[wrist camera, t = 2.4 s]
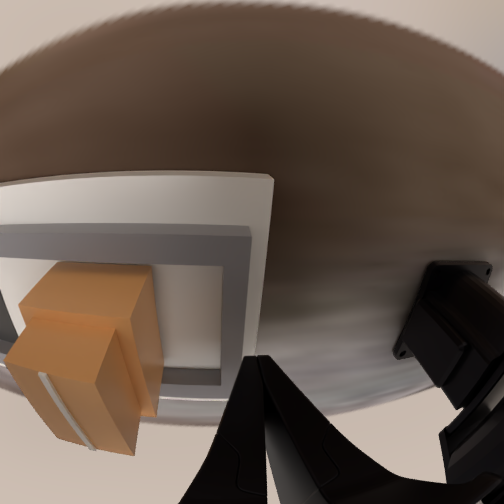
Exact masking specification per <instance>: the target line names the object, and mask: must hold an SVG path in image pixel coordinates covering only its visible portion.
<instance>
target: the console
mask: <svg viewBox="0 0 504 504" xmlns="http://www.w3.org/2000/svg"><path fill="white" fill-rule="evenodd" d="M273 188H274V179H273V178H272V177H271V176H270V175H269V174H260V173H244V172H224V171H186V170H153V171H117V172H97V173H82V174H70V175H58V176H49V177H39V178H31V179H23V180H16V181H9V182H3V183H0V365H2V366H5V367H6V368H7V366H6V365H5V363H4V361H3V360H4V359H5V357H6V355H7V354H8V352H9V351H10V349H11V348H12V346H13V345H14V343H15V342H16V340H17V339H18V337H19V336H20V334H21V333H22V332H23V330H24V329H25V327H26V325H25V322H24V320H23V317H22V314H21V312H20V309H19V306H18V304H19V303H20V302H21V301H22V300H23V298H24V297H25V296H26V295H27V294H28V293H29V292H30V290H31V289H32V288H33V287H34V286H35V285H36V284H37V283H38V282H39V281H40V279H41V278H42V277H43V276H44V275H45V274H46V273H47V272H48V271H49V270H50V269H51V268H52V267H53V266H54V265H55V264H56V263H57V262H70V263H91V264H115V265H141V266H152V276H153V286H154V295H155V303H156V311H157V319H158V326H159V333H160V339H161V346H162V352H163V357H164V368H163V374H162V381H161V387H160V394H159V398H161V399H175V400H196V401H228V399H229V396H230V394H231V391H232V388H233V385H234V382H235V379H236V377H237V374H238V371H239V368H240V365H241V362H242V359H243V357H244V356H255V350H256V341H257V333H258V325H259V316H260V308H261V299H262V291H263V282H264V273H265V264H266V255H267V246H268V236H269V227H270V217H271V208H272V198H273ZM7 369H8V368H7Z"/></svg>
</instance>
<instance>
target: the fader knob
mask: <svg viewBox="0 0 504 504" xmlns="http://www.w3.org/2000/svg"><path fill="white" fill-rule="evenodd" d="M18 306H19V309H20V312H21V314H22V317H23V320H24V322H25V325H26V327H25V329H24V330H23V332H22V333H21V334H20V336H19V337H18V339H17V340H16V342H15V343H14V345H13V346H12V348H11V349H10V351H9V352H8V354H7V355H6V357H5V359H4V360H3V361H4V363H5V365H6V366H7V368H8V370H9V371H10V373H11V375H12V376H13V378H14V380H15V381H16V383H17V384H18V386H19V388H20V389H21V391H22V392H23V394H24V395H25V396H26V398H27V399H28V401H29V402H30V403H31V405H32V406H33V408H34V409H35V411H36V412H37V413H38V415H39V416H40V417H41V418H42V419H43V421H44V422H45V423H46V425H47V426H48V427H49V428H50V430H51V431H52V432H53V433H54V434H55V436H56V437H57V438H59V439H62V440H65V441H68V442H72V443H76V444H79V445H83V446H87V447H88V448H89V449H90V450H93V451H96V449H99V450H104V451H109V452H114V453H119V454H125V455H130V456H135V448H136V441H137V435H138V428H139V422H140V416H148V417H157V409H158V401H159V394H160V387H161V381H162V374H163V368H164V357H163V352H162V346H161V339H160V333H159V326H158V319H157V311H156V303H155V295H154V286H153V276H152V266H141V265H115V264H91V263H70V262H57V263H56V264H55V265H54V266H53V267H52V268H51V269H50V270H49V271H48V272H47V273H46V274H45V275H44V276H43V277H42V278H41V279H40V281H39V282H38V283H37V284H36V285H35V286H34V287H33V288H32V289H31V290H30V292H29V293H28V294H27V295H26V296H25V297H24V298H23V300H22V301H21V302H20V303H19V304H18Z"/></svg>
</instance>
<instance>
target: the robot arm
mask: <svg viewBox="0 0 504 504" xmlns="http://www.w3.org/2000/svg"><path fill="white" fill-rule="evenodd" d="M491 272H492V265H491V264H489V263H488V262H439V261H435V262H432V263H431V264H430V265H429V266H428V268H427V270H426V273H425V276H424V279H423V282H422V285H421V287H420V290H419V293H418V295H417V298H416V301H415V303H414V306H413V308H412V311H411V313H410V316H409V318H408V320H407V323H406V325H405V327H404V330H403V332H402V334H401V336H400V338H399V341H398V343H397V345H396V347H395V349H394V351H393V355H394V356H395V358H396V359H397V360H400V359H405V358H409V357H414V356H415V358H416V359H417V360H418V362H419V363H420V365H421V366H422V367H423V369H424V370H425V372H426V373H427V374H428V376H429V377H430V379H431V380H432V382H433V383H434V384H435V386H436V387H437V388H440V387H441V389H442V390H443V391H444V393H445V394H446V396H447V397H448V399H449V400H450V402H451V403H452V405H453V406H454V408H455V409H456V410H458V409H460V408H462V407H463V410H462V411H461V413H460V414H459V415H458V416H457V417H456V418H455V419H454V420H453V421H452V422H451V423H450V424H449V425H448V426H446V427H445V428H444V429H443V430H442V431H441V432H440V433H439V440H440V445H441V450H442V456H443V461H444V468H445V475H446V482H447V484H446V483H436V482H428V481H421V480H415V479H409V478H404V477H401V476H398V475H396V474H394V473H392V472H390V471H388V470H387V469H385V468H384V467H383V466H381V465H380V464H378V463H377V462H375V461H374V460H373V459H372V458H370V457H369V456H367V455H366V454H365V453H364V452H362V451H361V450H360V449H358V448H357V447H356V446H355V445H353V444H352V443H351V442H350V441H349V440H348V439H347V438H346V437H344V436H343V435H342V434H341V433H340V432H339V431H338V430H337V429H336V428H335V427H334V426H333V425H332V424H330V422H329V421H328V420H327V418H326V417H325V416H324V415H323V414H322V413H321V412H320V411H319V410H318V409H317V408H316V407H315V406H314V405H313V404H312V402H311V401H310V400H309V399H308V398H307V397H306V396H305V395H304V394H303V393H302V392H301V391H300V389H299V388H298V387H297V386H296V385H295V384H294V383H293V382H292V381H291V379H290V378H289V377H288V376H287V375H286V374H285V373H284V372H283V370H282V369H281V368H280V367H279V366H278V365H277V364H276V363H275V361H274V360H273V359H272V358H271V357H270V356H269V355H258V356H257V357H256V356H244V357H243V359H242V362H241V365H240V368H239V371H238V374H237V377H236V379H235V382H234V385H233V388H232V391H231V394H230V396H229V399H228V402H227V405H226V408H225V410H224V413H223V416H222V419H221V421H220V424H219V427H218V430H217V434H216V435H215V437H214V440H213V443H212V445H211V447H210V450H209V452H208V455H207V457H206V459H205V461H204V462H203V464H202V466H201V468H200V470H199V472H198V473H197V475H196V477H195V478H194V480H193V482H192V483H191V485H190V486H189V488H188V489H187V491H186V493H185V494H184V496H183V497H182V499H181V500H180V502H179V503H178V504H267V475H266V451H267V455H268V459H269V463H270V467H271V470H272V474H273V478H274V482H275V485H276V489H277V493H278V497H279V500H280V503H281V504H504V297H503V296H502V295H501V294H500V293H498V292H497V291H496V290H495V289H493V288H492V287H491V286H490V285H488V284H487V282H488V280H489V277H490V275H491Z"/></svg>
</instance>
